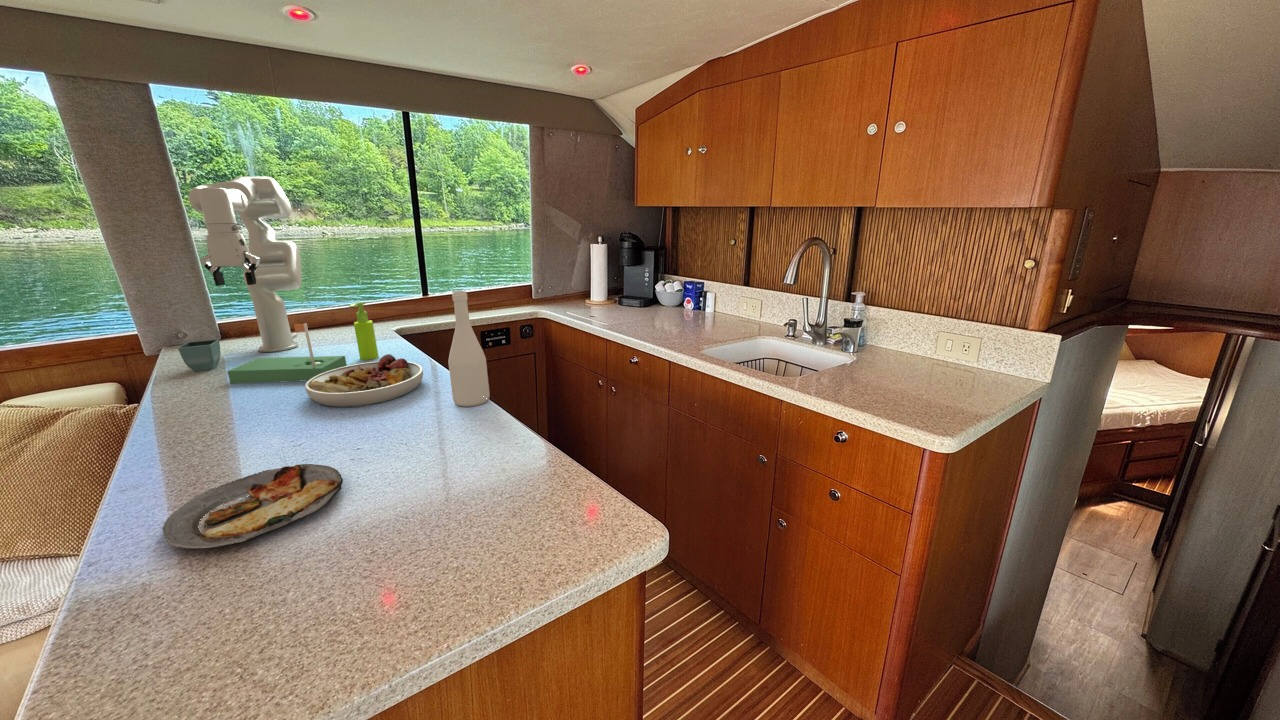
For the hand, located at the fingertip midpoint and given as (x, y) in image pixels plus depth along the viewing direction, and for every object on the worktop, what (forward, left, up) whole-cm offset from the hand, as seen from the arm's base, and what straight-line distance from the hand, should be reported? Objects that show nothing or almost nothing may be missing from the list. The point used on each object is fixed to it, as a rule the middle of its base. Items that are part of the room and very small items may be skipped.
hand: (236, 284), depth 159 cm
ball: (+8, +25, -26) cm, 37 cm away
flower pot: (-2, -18, -29) cm, 34 cm away
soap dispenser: (-10, +32, -28) cm, 44 cm away
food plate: (+87, +58, -29) cm, 108 cm away
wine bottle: (+38, +81, -28) cm, 94 cm away
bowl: (+26, +49, -29) cm, 62 cm away
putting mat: (+8, +16, -28) cm, 33 cm away
